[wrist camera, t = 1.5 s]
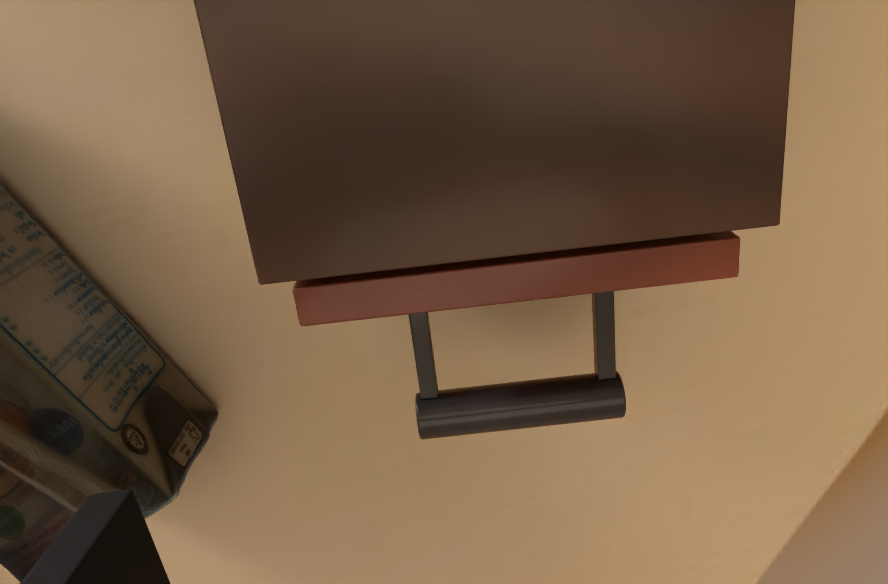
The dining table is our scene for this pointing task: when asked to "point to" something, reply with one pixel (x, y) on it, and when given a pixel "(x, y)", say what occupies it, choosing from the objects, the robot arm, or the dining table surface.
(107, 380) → the beverage carton
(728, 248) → the drawer
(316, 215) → the cabinet
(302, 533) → the dining table surface
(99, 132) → the dining table surface
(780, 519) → the dining table surface
